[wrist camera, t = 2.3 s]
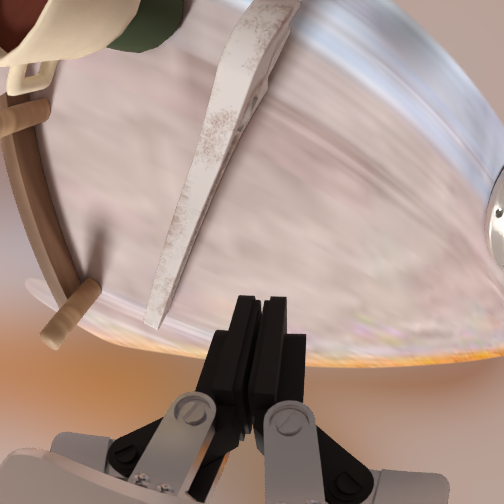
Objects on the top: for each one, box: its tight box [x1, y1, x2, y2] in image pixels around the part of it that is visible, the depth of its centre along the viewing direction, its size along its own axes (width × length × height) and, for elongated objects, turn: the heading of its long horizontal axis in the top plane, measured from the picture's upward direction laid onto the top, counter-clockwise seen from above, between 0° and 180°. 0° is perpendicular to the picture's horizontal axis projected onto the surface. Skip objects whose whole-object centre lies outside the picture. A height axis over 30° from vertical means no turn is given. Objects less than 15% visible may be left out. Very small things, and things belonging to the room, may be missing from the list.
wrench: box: [143, 0, 301, 330], centre depth 21 cm, size 8×2×30 cm
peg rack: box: [0, 92, 101, 350], centre depth 23 cm, size 5×26×9 cm, turn 4°
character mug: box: [0, 0, 183, 96], centre depth 11 cm, size 11×7×13 cm, turn 151°
